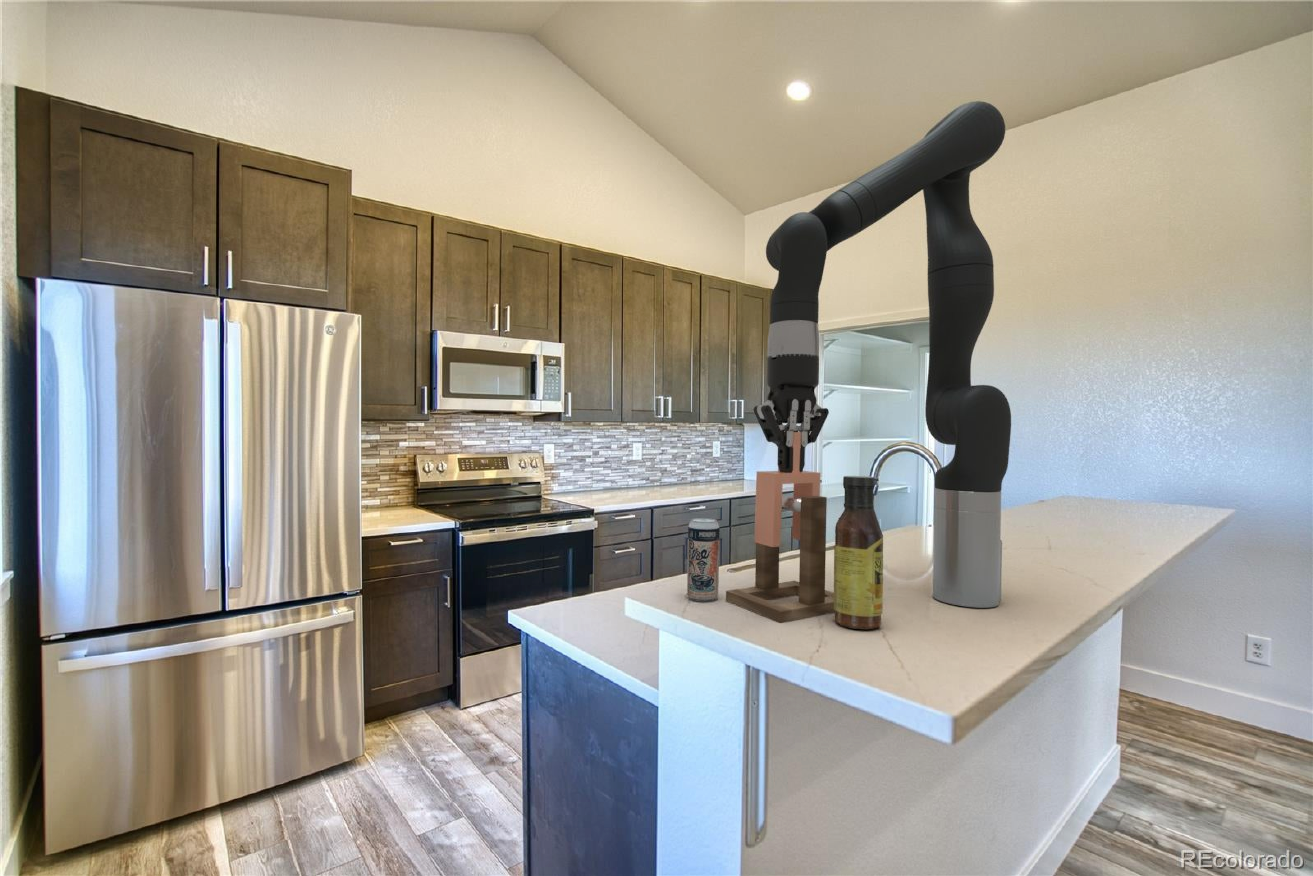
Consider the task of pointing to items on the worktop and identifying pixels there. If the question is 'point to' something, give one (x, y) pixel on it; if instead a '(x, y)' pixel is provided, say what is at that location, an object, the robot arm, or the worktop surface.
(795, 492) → the orange arch with tab
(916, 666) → the worktop surface
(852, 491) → the sauce bottle
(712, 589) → the beer can
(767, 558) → the brown wooden post stand
